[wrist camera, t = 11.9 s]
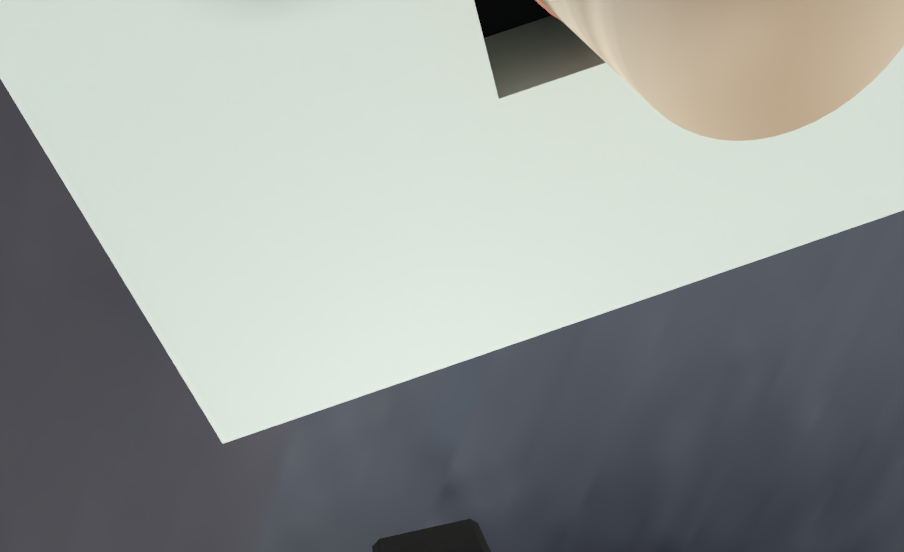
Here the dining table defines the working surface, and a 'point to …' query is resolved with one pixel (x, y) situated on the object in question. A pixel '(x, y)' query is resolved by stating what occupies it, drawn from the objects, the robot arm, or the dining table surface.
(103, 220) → the board
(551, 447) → the dining table surface
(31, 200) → the dining table surface
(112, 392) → the dining table surface
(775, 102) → the peg
